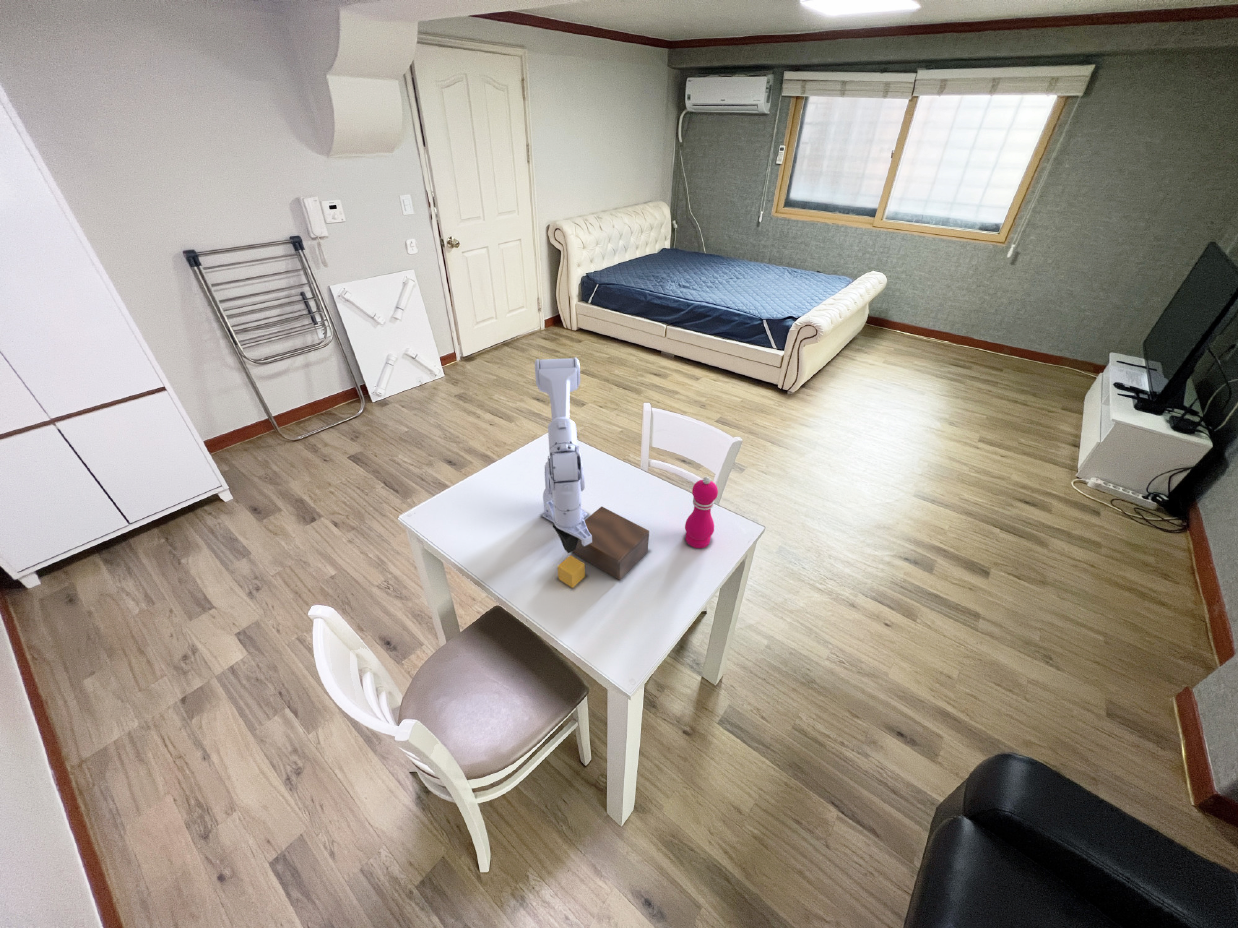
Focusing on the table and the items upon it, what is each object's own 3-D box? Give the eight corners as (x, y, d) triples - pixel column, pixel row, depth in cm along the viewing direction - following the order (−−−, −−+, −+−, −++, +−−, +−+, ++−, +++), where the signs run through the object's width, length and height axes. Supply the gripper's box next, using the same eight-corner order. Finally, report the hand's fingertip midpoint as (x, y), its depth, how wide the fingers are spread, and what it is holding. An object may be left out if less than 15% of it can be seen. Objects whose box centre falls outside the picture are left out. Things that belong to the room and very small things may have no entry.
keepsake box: (619, 580, 113) (620, 561, 110) (572, 552, 120) (571, 533, 117) (647, 551, 121) (649, 533, 117) (601, 526, 128) (601, 508, 124)
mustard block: (558, 579, 113) (557, 566, 111) (571, 567, 116) (570, 554, 114) (572, 588, 111) (571, 575, 109) (585, 576, 114) (584, 563, 112)
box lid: (618, 563, 109) (618, 560, 109) (569, 535, 116) (568, 532, 116) (649, 533, 117) (649, 530, 117) (601, 508, 124) (601, 506, 124)
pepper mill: (704, 554, 120) (715, 491, 109) (678, 542, 124) (686, 480, 112) (716, 536, 125) (727, 474, 114) (690, 526, 128) (699, 464, 117)
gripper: (604, 513, 98) (604, 560, 106) (564, 478, 107) (567, 523, 115) (574, 527, 94) (577, 575, 102) (536, 490, 103) (541, 536, 111)
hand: (570, 549), depth 108 cm, fingers closed
